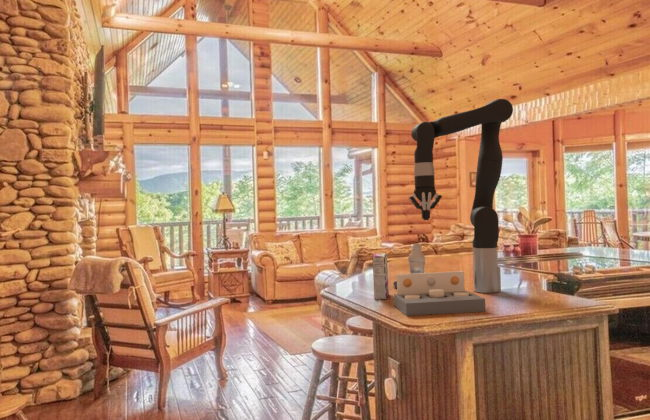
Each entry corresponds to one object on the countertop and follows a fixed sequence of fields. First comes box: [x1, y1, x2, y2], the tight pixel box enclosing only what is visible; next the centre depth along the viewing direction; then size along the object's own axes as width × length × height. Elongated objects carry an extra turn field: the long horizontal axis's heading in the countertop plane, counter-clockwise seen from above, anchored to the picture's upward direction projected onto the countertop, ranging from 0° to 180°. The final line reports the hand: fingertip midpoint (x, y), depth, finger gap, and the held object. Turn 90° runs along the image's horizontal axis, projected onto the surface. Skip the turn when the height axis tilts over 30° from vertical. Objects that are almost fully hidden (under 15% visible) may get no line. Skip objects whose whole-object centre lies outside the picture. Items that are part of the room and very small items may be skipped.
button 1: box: [405, 295, 420, 299], centre depth 161 cm, size 5×5×3 cm
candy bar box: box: [372, 252, 390, 301], centre depth 184 cm, size 11×5×16 cm, turn 168°
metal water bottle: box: [407, 243, 426, 274], centre depth 180 cm, size 6×7×20 cm
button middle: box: [429, 289, 444, 298], centre depth 161 cm, size 5×5×3 cm
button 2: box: [453, 292, 469, 297], centre depth 162 cm, size 5×5×3 cm
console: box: [393, 270, 487, 317], centre depth 160 cm, size 26×16×11 cm, turn 95°
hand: (425, 220), depth 184 cm, fingers closed
